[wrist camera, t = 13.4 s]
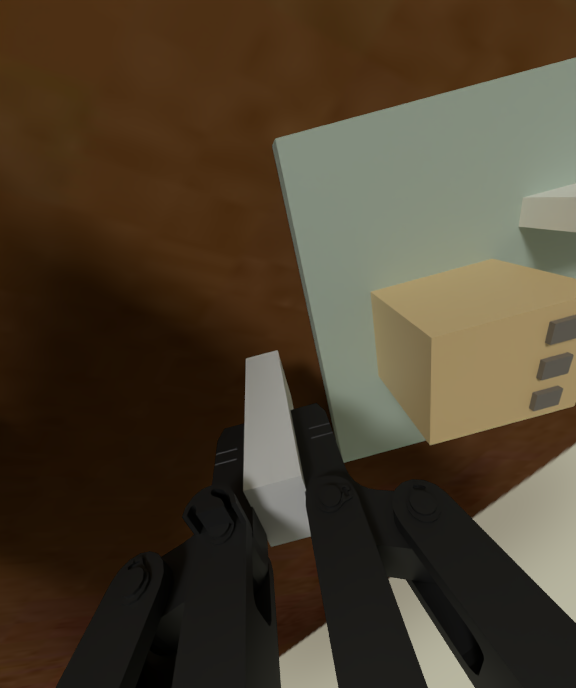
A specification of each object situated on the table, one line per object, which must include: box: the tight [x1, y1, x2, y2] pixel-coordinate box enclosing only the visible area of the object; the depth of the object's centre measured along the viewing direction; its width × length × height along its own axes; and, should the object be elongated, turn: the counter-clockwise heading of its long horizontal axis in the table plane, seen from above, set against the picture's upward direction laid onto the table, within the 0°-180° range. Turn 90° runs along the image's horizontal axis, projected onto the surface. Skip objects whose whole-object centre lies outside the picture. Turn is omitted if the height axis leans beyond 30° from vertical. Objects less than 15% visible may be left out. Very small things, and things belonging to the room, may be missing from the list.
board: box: [272, 58, 576, 463], centre depth 14 cm, size 20×18×4 cm
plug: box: [371, 259, 576, 445], centre depth 12 cm, size 6×5×5 cm
